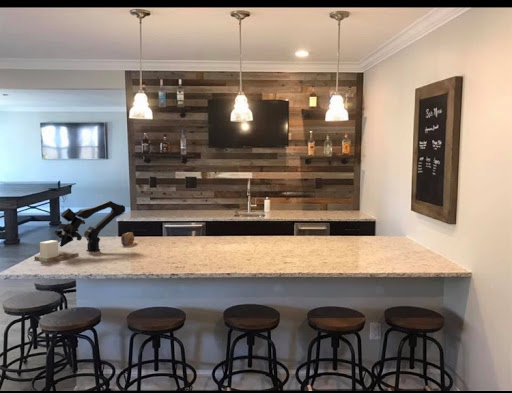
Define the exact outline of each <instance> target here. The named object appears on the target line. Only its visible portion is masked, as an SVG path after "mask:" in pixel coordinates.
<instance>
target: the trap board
mask: <svg viewBox="0 0 512 393" xmlns="http://www.w3.org/2000/svg"><path fill="white" fill-rule="evenodd" d="M58 255H59V256H56V257H51V258H47V262H46V263H56V262H60V261H64V260H68V259H71V258H72V259H73V258H76V257H79V252H74V251H68V250H58ZM33 257H34V260H35V261H39V257H40V254H39V255H35V256H33Z"/></svg>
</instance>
